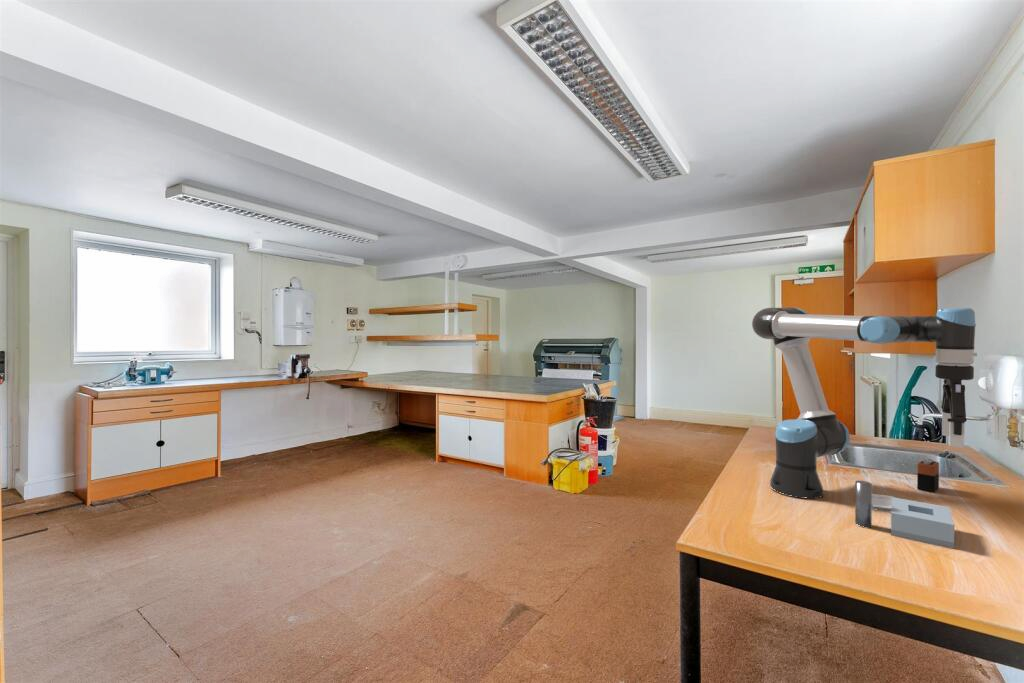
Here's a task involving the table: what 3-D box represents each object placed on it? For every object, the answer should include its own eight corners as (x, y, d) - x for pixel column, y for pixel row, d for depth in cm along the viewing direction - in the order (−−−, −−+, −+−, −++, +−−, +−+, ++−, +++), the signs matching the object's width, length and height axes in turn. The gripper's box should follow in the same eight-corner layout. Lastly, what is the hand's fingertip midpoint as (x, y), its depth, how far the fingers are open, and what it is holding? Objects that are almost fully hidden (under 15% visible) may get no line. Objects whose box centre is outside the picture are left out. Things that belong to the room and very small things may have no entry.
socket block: (891, 535, 120) (891, 512, 120) (891, 517, 131) (891, 497, 131) (954, 548, 112) (954, 524, 112) (949, 529, 123) (949, 507, 123)
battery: (916, 489, 152) (917, 460, 152) (922, 485, 156) (922, 456, 156) (934, 493, 149) (934, 463, 148) (939, 488, 153) (939, 459, 152)
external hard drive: (873, 511, 137) (862, 497, 148) (907, 516, 133) (894, 500, 144) (873, 506, 137) (862, 492, 148) (907, 510, 133) (894, 495, 144)
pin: (854, 525, 126) (854, 483, 126) (855, 521, 129) (855, 479, 129) (871, 529, 124) (871, 485, 124) (871, 524, 127) (872, 482, 126)
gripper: (983, 369, 112) (981, 454, 113) (965, 361, 132) (963, 433, 133) (942, 367, 116) (940, 449, 117) (930, 360, 136) (928, 430, 137)
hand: (952, 441), depth 125 cm, fingers open, 13 cm apart
